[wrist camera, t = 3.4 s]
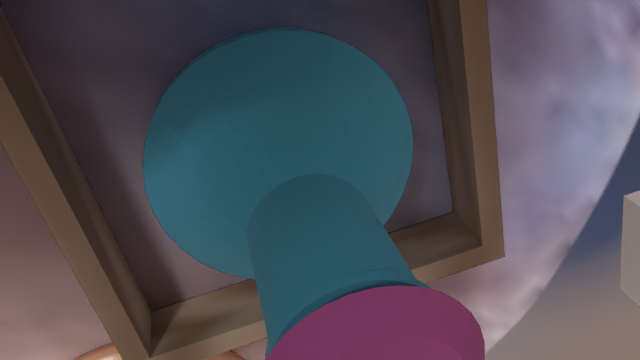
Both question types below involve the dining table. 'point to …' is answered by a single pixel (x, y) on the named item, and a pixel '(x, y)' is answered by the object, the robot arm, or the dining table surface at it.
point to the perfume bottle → (300, 195)
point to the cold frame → (242, 298)
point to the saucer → (108, 356)
